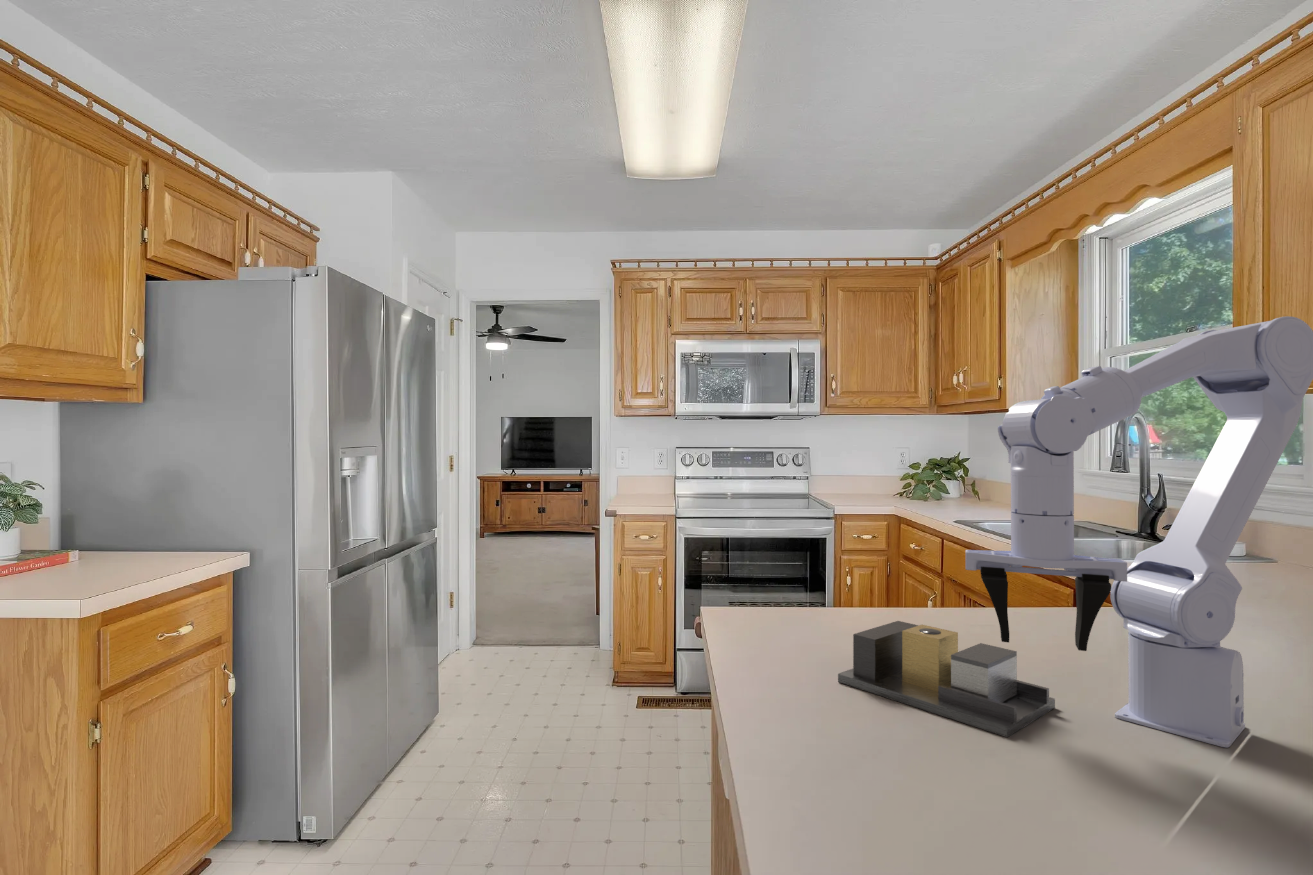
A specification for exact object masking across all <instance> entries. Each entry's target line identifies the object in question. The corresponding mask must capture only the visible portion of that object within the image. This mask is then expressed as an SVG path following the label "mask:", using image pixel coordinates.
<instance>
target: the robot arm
mask: <svg viewBox="0 0 1313 875" xmlns="http://www.w3.org/2000/svg"><path fill="white" fill-rule="evenodd" d="M1080 374H1081V376H1082V377H1080V378H1078V379H1076V380H1074V381H1072V382H1068V383H1066V384H1065V385H1063V386H1061V387H1060V386H1057V385H1055V386H1050V387H1047V388H1046V389H1044V391H1043V393H1044V394H1043V395H1042V397H1041V398H1038V399H1031V400H1030V399H1029V400H1024V401H1023V400H1022V401H1019V402H1016V403H1015V404H1012V406H1010V407H1009V408H1008V412H1005V415H1004V417H1003V419H1002V424H1000V425H998V426H997V432H998V437H999V439H1000V441H1001V443H1002V444H1003V446H1004V447H1005V449H1006V450H1007V454H1008V455H1007V456H1008V463H1009V464H1010V547H1011V548H1010V550H978V549H976V550H975V549H965V570H967V571H979V570H980V577H981V581H982V582H983V584H984V587H985V589H986V591H987V593H988V595H989V598H990V600H991V602H992V605H993V607H994V610H995V614H996V616H997V620H998V623H999V624H998V625H999V632H1000V639H1001V640H1000V641H1001V642H1002V643H1010V626H1009V624H1010V623H1009V615H1008V600H1009V598H1008V596H1009V595H1008V594H1009V581H1008V574H1007V572H1009V573H1021V574H1032V575H1033V574H1034V575H1035V574H1036V575H1047V576H1049V575H1051V576H1062V577H1063V576H1064V577H1075V578H1074V581H1075V582H1074V583H1075V585H1074V586H1075V599H1076V600H1075V601H1076V603H1075V604H1076V619H1075V630H1074V631H1075V632H1074V641H1075V642H1074V643H1075V647H1076V648H1077V650H1078V651H1082V652H1087V651H1088V650H1087V649H1088V644H1089V643H1088V642H1089V639H1090V635H1091V632H1092V629H1093V626H1094V623H1095V620H1096V618H1097V616H1098V614H1099V612H1100V610H1101V608H1102V606H1103V605H1104V603H1105V601H1106V600H1107V599H1108V597H1110V602H1111V605H1112V607H1113V609H1114V611H1115V613H1116V614H1117V615H1118V616H1119V618H1121V619H1123V628H1124V629H1125V630H1127V632H1128V635H1127V636H1128V638H1127V640H1128V641H1127V642H1128V643H1127V644H1128V647H1127V648H1128V650H1127V651H1128V652H1127V653H1128V657H1127V658H1128V660H1127V662H1128V664H1127V665H1128V668H1127V669H1128V703H1126V704H1125V705H1124V706H1123V707H1121V708H1120V709H1118V710H1117V711H1116V712H1114V717H1115V718H1117V719H1118V720H1121V721H1125V722H1129V723H1134V724H1137V725H1140V726H1145V727H1147V728H1151V729H1155V730H1158V731H1162V732H1166V733H1170V734H1174V735H1177V736H1181V737H1184V738H1189V739H1191V740H1195V741H1199V742H1203V743H1206V744H1210V745H1213V746H1216V747H1217V746H1218V747H1221V748H1229V747H1231V746H1232V744H1233V743H1234V742H1235V740H1236V739H1237V738H1238V737H1239V736H1240V735H1241V733H1242V732H1243V731H1244V730H1245V729H1246V723H1245V720H1244V719H1245V712H1244V711H1245V710H1244V708H1245V706H1244V704H1245V703H1244V699H1245V697H1244V691H1245V690H1244V685H1245V684H1244V662H1243V656H1242V653H1241V652H1240V651H1238V650H1235V649H1231V648H1226V647H1222V646H1221V642H1222V640H1224V639H1225V638H1226V637H1227V636H1228V634H1229V633H1231V630H1232V629H1233V626H1234V624H1235V623H1234V622H1235V620H1236V619H1235V618H1236V604H1237V600H1238V599H1239V596H1240V593H1241V592H1242V590H1243V587H1242V585H1241V583H1240V582H1239V581H1238V579H1237V577H1235V575H1234V574H1233V573H1232V571H1231V570H1230V569H1229V567H1228V566H1227V564H1226V563H1227V562H1228V559H1229V558H1230V555H1231V553H1232V552H1233V549H1234V548H1235V545H1236V544H1237V542H1238V540H1239V538H1240V536H1241V533H1242V532H1243V530H1244V528H1245V526H1246V524H1247V522H1248V520H1249V519H1250V516H1251V515H1252V513H1253V511H1254V509H1255V506H1256V505H1257V503H1258V501H1259V499H1260V498H1261V495H1262V494H1263V491H1264V489H1265V487H1266V486H1267V483H1268V481H1269V480H1270V478H1271V476H1272V475H1273V471H1274V470H1275V468H1276V467H1277V464H1278V462H1279V461H1280V458H1281V457H1282V456H1283V453H1284V451H1285V449H1286V448H1287V445H1288V443H1289V442H1290V440H1291V437H1292V435H1293V434H1294V432H1295V430H1296V428H1297V426H1298V423H1299V420H1300V417H1301V413H1302V405H1303V400H1304V397H1305V396H1306V394H1307V391H1308V389H1309V387H1310V386H1311V384H1312V381H1313V330H1312V328H1311V326H1310V325H1309V324H1308V323H1307V322H1306V321H1304V320H1302V319H1301V318H1300V317H1299V318H1298V317H1295V316H1289V315H1287V316H1280V317H1276V318H1274V319H1272V320H1267V321H1261V322H1256V323H1251V324H1250V323H1249V324H1246V325H1241V326H1235V327H1229V328H1223V329H1211V330H1205V331H1202V332H1200V333H1198V334H1196V335H1192V336H1187V337H1184V338H1182V339H1181V340H1179V341H1178V342H1176V343H1174V344H1171V346H1168V347H1167V348H1165V349H1163V350H1161V351H1158V352H1157V353H1155V354H1153V355H1151V356H1150V357H1147V358H1145V359H1144V360H1142V361H1140V362H1138V363H1135V364H1134V365H1132V366H1130V367H1128V368H1127V369H1125V370H1124V369H1123V370H1122V369H1121V368H1118V367H1113V366H1106V367H1102V366H1101V365H1097V366H1090V367H1088V368H1086V369H1083V370H1082V371H1081V372H1080ZM1190 378H1193V379H1194V381H1195V382H1196V383H1197V385H1198V386H1199V387H1200V389H1201V390H1202V391H1203V393H1204V395H1206V397H1207V398H1208V400H1209V401H1210V402H1211V403H1212V404H1213V405H1214V407H1215V409H1217V410H1218V411H1221V412H1223V413H1224V414H1225V416H1226V421H1225V424H1224V426H1223V427H1222V429H1221V431H1220V432H1219V435H1218V436H1217V439H1216V441H1215V443H1214V444H1213V447H1212V448H1211V450H1210V452H1209V454H1208V455H1207V458H1206V460H1205V461H1204V464H1203V465H1202V467H1201V469H1200V471H1199V473H1198V475H1197V477H1196V479H1195V480H1194V481H1193V482H1194V483H1193V485H1192V487H1191V488H1190V490H1189V492H1188V494H1187V496H1186V497H1185V499H1184V501H1183V504H1182V506H1181V507H1180V509H1179V512H1178V513H1177V514H1176V517H1175V518H1174V521H1173V523H1172V525H1171V527H1170V528H1169V530H1168V531H1167V534H1166V535H1165V537H1164V539H1163V541H1161V542H1159V543H1157V544H1155V545H1152V546H1150V547H1148V548H1146V549H1144V550H1142V551H1140V552H1138V553H1137V554H1136V556H1135V557H1134V559H1133V561H1132V563H1131V564H1130V565H1129V566H1128V562H1127V561H1126V560H1124V559H1122V558H1109V557H1099V556H1089V555H1088V556H1087V555H1081V554H1080V555H1078V554H1075V515H1074V514H1075V508H1074V507H1075V494H1074V493H1075V492H1074V491H1075V489H1074V488H1075V486H1074V482H1075V481H1074V479H1075V478H1074V477H1075V476H1074V474H1075V473H1074V469H1075V468H1074V467H1075V466H1074V459H1075V457H1074V456H1075V455H1074V452H1077V451H1079V450H1080V449H1081V448H1082V447H1083V446H1084V444H1085V443H1086V441H1087V439H1088V437H1089V436H1091V435H1092V434H1095V433H1097V432H1099V431H1101V430H1103V429H1106V428H1108V427H1110V426H1112V425H1114V424H1116V423H1118V422H1121V421H1123V420H1125V419H1127V418H1129V417H1131V416H1133V415H1135V414H1136V413H1137V412H1138V410H1139V409H1140V406H1141V404H1142V398H1145V397H1146V396H1149V395H1151V394H1154V393H1156V392H1157V393H1158V392H1159V391H1162V390H1164V389H1166V388H1168V387H1170V386H1171V387H1172V386H1174V385H1176V384H1178V383H1181V382H1183V381H1187V380H1188V379H1190ZM1110 580H1113V583H1110Z"/></svg>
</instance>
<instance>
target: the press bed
mask: <svg viewBox="0 0 1313 875" xmlns="http://www.w3.org/2000/svg"><path fill="white" fill-rule="evenodd" d="M919 625H920V624H914V623H909V622H905V621H901V620H897V621H896V620H895V621H892V622H889V623H887V624H882V625H879V626H876V627H873V628H870V629H866V630H863V631H859V632H856V633H853V636H852V638H853V642H852V643H853V645H852V646H853V648H852V649H853V650H852V652H853V653H852V658H853V659H852V660H853V666H852V667H853V668H850V669H847V670H845V671H842V672H839V673H838V674H837V682H838V683H841V684H843V685H847V686H850V687H852V688H854V689H859V690H861V691H862V690H863V691H865V692H868V693H871V694H873V695H874V694H875V695H876V696H879V697H883V698H886V699H889V700H892V701H895V702H899V703H901V704H904V705H908V706H910V707H914V708H917V709H920V710H923V711H926V712H929V713H932V714H935V715H938V716H941V717H944V718H947V719H950V720H954V721H956V722H959V723H963V724H966V725H968V726H972V727H974V728H978V729H981V730H983V731H987V732H990V733H993V734H995V735H996V734H997V735H1000V736H1002V737H1005V738H1008V737H1010V736H1011V735H1014V734H1015V733H1017V732H1018V731H1020V730H1022V729H1023V728H1025V727H1026V726H1028V725H1030V724H1031V723H1033V722H1034V721H1036V720H1037V719H1039V718H1041V717H1043V716H1044V715H1046V714H1047V713H1049V712H1051V711H1052V710H1054V709H1055V708H1056V698H1054V697H1050V688H1049V687H1045V686H1041V685H1038V684H1035V683H1034V684H1033V683H1030V682H1026V681H1023V680H1018V679H1017V694H1016V695H1014V696H1013V697H1011V698H1009V699H1007V700H1005V701H1003V702H999V701H995V700H992V699H988V698H985V697H981V696H978V695H975V694H971V693H968V692H964V691H961V690H957V689H954V688H951V687H947V686H944V685H939V686H938V692H936V691H933V690H929V689H926V688H923V687H919V686H916V685H913V684H909V683H906V682H903V681H902V631H903V630H906V629H910V628H913V627H916V626H919Z"/></svg>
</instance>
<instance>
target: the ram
mask: <svg viewBox="0 0 1313 875" xmlns="http://www.w3.org/2000/svg"><path fill="white" fill-rule="evenodd" d="M1017 653H1018V652H1017V650H1013V649H1009V648H1003V647H1000V646H994V645H990V644H988V643H986V644H985V643H982V642H980V643H977V644H975V645H973V646H970V647H967V648H965V649H962V650H958V652H957V653H954V654H952V655H951V688H954V689H957V690H961V691H964V692H968V693H971V694H975V695H978V696H981V697H985V698H988V699H992V700H995V701H999V702H1003V701H1005V700H1007V699H1009V698H1011V697H1013V696H1014V695H1016V694H1017V680H1018V675H1017V674H1018V669H1017V668H1018V665H1017V662H1018V660H1017V657H1018V656H1017Z"/></svg>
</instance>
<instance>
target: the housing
mask: <svg viewBox="0 0 1313 875" xmlns="http://www.w3.org/2000/svg"><path fill="white" fill-rule="evenodd" d="M918 625H919V626H916V627H913V628H910V629H906V630H903V631H902V681H903V682H906V683H909V684H913V685H916V686H919V687H923V688H926V689H929V690H933V691H936V692H938V686H939V685H944V686H947V687H951V655H952V654H954V653H957V652H959V632H958V631H952V630H948V629H944V628H939V627H934V626H932V625H926V624H918Z"/></svg>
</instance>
